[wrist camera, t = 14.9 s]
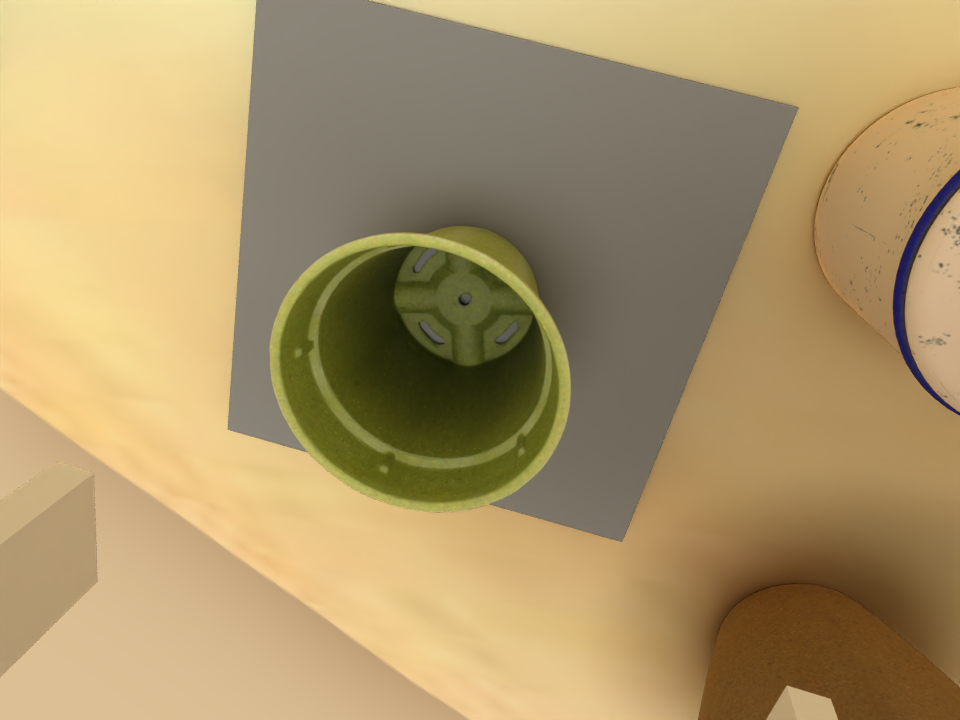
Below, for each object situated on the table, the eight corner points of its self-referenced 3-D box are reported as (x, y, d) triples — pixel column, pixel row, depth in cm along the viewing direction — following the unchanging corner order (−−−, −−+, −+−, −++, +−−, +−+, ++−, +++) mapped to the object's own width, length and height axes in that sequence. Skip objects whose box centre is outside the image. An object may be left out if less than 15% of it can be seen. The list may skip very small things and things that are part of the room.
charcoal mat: (794, 106, 24) (798, 107, 23) (621, 535, 32) (622, 542, 32) (264, -25, 25) (258, -27, 24) (232, 424, 33) (227, 429, 33)
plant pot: (480, 434, 31) (441, 561, 23) (317, 303, 29) (216, 389, 21) (626, 291, 27) (639, 383, 19) (446, 132, 25) (381, 161, 18)
